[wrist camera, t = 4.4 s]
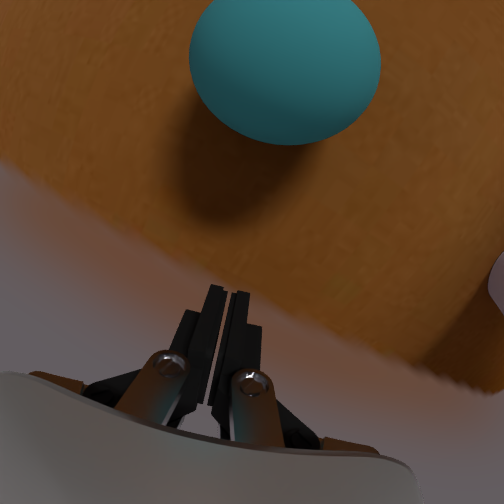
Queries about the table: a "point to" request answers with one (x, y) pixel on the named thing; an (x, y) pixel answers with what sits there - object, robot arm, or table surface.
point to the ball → (285, 67)
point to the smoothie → (497, 283)
